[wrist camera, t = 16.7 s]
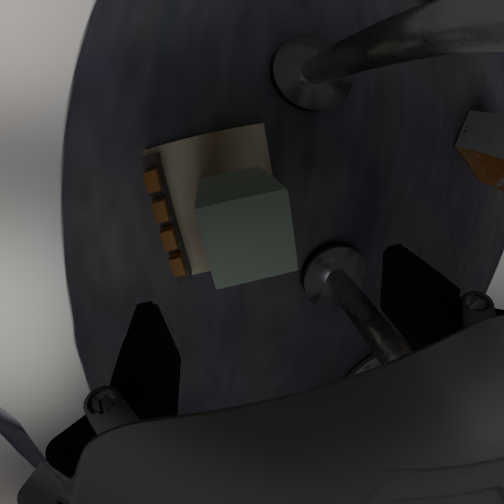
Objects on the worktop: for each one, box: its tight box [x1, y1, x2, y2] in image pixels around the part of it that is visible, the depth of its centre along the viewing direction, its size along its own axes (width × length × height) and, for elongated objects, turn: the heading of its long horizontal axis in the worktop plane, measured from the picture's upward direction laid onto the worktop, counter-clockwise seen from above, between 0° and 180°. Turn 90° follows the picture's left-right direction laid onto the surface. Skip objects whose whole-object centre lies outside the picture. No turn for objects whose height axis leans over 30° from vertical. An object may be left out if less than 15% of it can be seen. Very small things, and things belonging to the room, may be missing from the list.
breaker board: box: [141, 123, 273, 281], centre depth 23 cm, size 10×12×4 cm
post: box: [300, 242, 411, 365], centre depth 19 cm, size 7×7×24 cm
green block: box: [194, 166, 298, 289], centre depth 20 cm, size 5×5×9 cm
